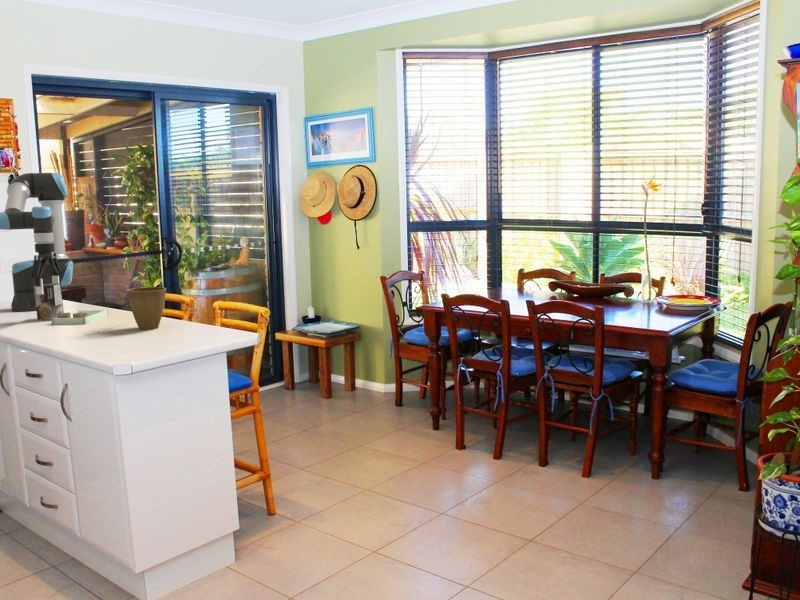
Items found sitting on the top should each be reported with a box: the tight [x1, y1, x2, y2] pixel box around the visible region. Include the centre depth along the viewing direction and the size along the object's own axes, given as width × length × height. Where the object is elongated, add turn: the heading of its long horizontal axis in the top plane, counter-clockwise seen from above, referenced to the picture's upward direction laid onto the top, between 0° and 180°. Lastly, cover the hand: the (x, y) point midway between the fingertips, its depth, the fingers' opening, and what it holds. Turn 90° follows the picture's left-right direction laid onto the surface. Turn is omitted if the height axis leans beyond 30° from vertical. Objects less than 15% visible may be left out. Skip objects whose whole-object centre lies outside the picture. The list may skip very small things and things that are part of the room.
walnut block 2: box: [73, 312, 88, 318], centre depth 316 cm, size 4×4×4 cm
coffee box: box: [34, 284, 65, 321], centre depth 326 cm, size 9×6×16 cm
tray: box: [51, 309, 109, 326], centre depth 323 cm, size 22×14×4 cm, turn 177°
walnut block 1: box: [57, 312, 71, 318], centre depth 316 cm, size 4×4×4 cm
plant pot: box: [126, 286, 167, 330], centre depth 305 cm, size 15×15×16 cm
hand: (48, 292), depth 325 cm, fingers open, 13 cm apart
